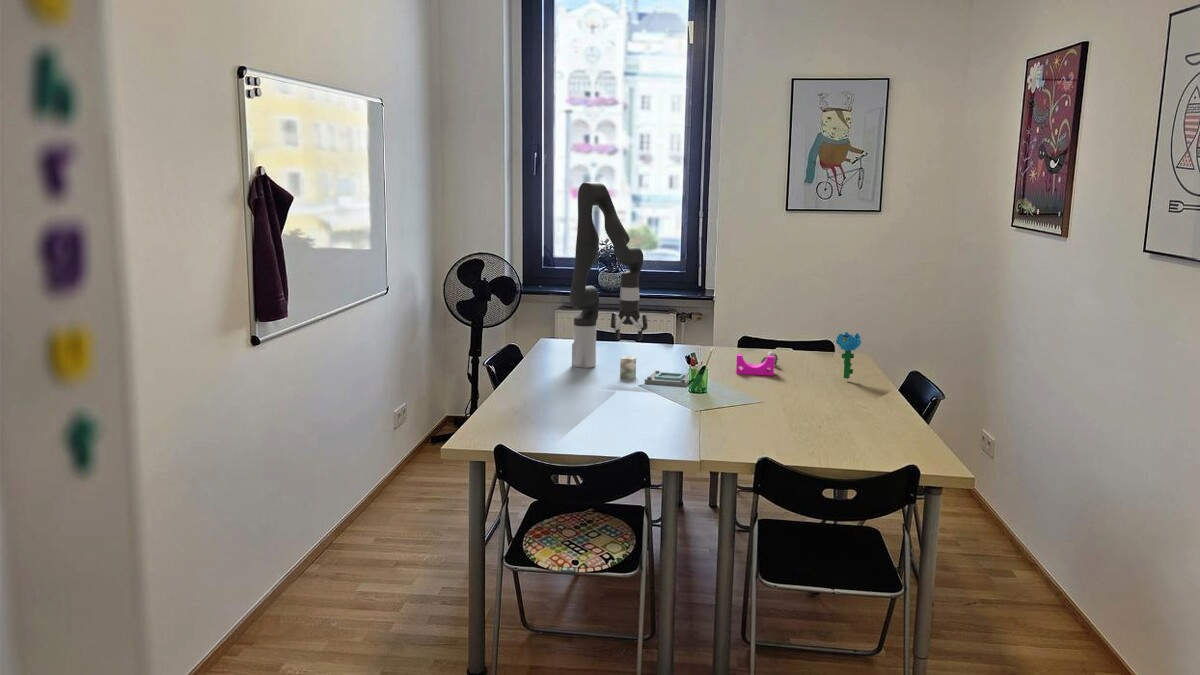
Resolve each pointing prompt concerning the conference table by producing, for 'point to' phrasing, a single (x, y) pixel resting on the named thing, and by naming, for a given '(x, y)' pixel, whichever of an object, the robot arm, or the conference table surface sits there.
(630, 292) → the robot arm
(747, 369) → the toy block
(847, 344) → the toy flower
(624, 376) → the beige block
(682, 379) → the baseplate
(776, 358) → the eagle figurine
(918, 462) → the conference table surface
